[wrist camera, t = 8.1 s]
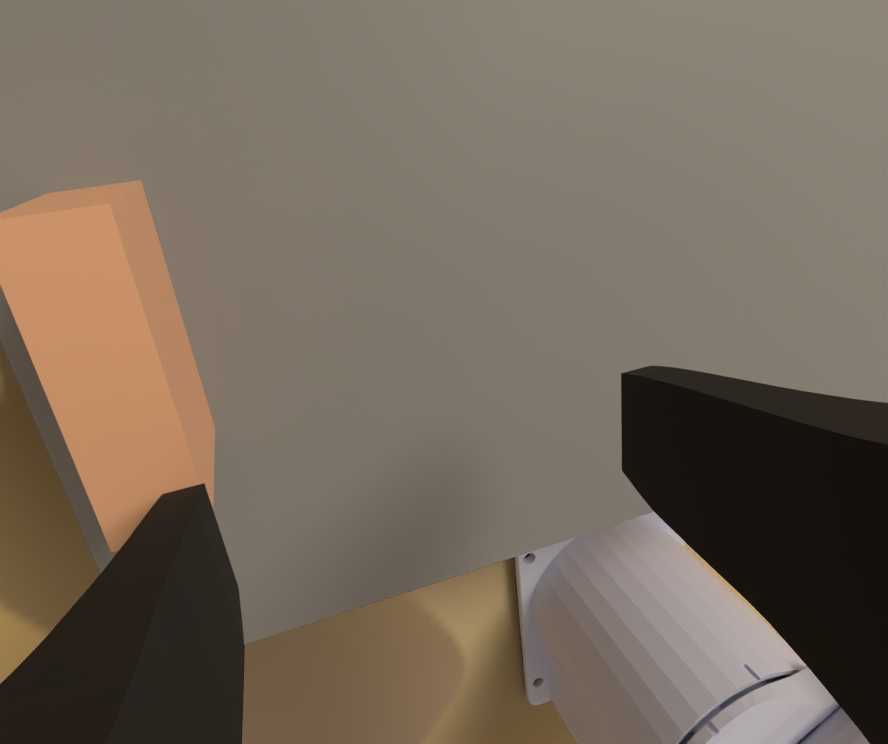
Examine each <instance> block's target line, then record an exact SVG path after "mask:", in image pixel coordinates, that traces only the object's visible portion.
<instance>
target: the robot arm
mask: <svg viewBox="0 0 888 744" xmlns="http://www.w3.org/2000/svg"><path fill="white" fill-rule="evenodd" d="M621 430H622V471H623V473H624V474H625V475H626V477H627V478H628V479H629V481H630V482H631V483H632V485H633V486H634V487H635V489H636V490H637V491H638V493H639V494H640V495H641V496H642V498H643V499H644V500H645V501H646V503H647V504H648V505H649V506H650V507H651V509H652V510H653V511H654V512H652V513H648V514H645V515H642V516H639V517H636V518H633V519H630V520H627V521H624V522H621V523H618V524H615V525H612V526H609V527H605V528H602V529H599V530H596V531H593V532H590V533H587V534H584V535H581V536H578V537H575V538H572V539H569V540H566V541H562V542H559V543H556V544H553V545H550V546H547V547H544V548H541V549H538V550H535V551H532V552H529V553H531V554H530V555H529V556H528V557H526V558H524V557H525V556H526V555H527V554H529V553H526V554H522V555H519V556H516V557H515V569H516V581H517V593H518V605H519V617H520V629H521V641H522V653H523V665H524V677H525V689H526V697H527V699H528V701H529V703H530V704H531V705H535V706H537V705H541V704H543V703H546V702H548V701H551V700H552V702H553V704H554V706H555V707H556V709H557V711H558V713H559V714H560V716H561V718H562V720H563V721H564V723H565V725H566V727H567V728H568V730H569V732H570V734H571V736H572V737H573V739H574V741H575V743H576V744H888V403H885V402H875V401H867V400H859V399H852V398H845V397H839V396H832V395H826V394H819V393H813V392H806V391H801V390H795V389H789V388H784V387H778V386H773V385H768V384H762V383H757V382H752V381H747V380H742V379H736V378H731V377H726V376H721V375H716V374H710V373H705V372H699V371H694V370H688V369H681V368H674V367H666V366H647V367H643V368H639V369H636V370H632V371H628V372H624V373H621ZM685 542H686V543H687V544H688V545H689V546H690V547H691V548H692V549H693V550H694V551H695V552H696V553H697V554H698V555H700V556H701V557H702V558H703V559H704V560H705V561H706V562H707V563H708V564H709V565H710V566H711V567H712V568H713V569H714V570H716V571H717V572H718V573H719V574H720V575H721V576H722V577H723V578H724V579H725V580H726V581H727V582H728V583H729V584H730V585H731V586H733V587H734V588H735V589H736V590H737V591H738V592H739V593H740V594H741V595H742V596H743V597H744V598H745V599H746V600H747V601H748V602H749V603H750V604H751V605H752V606H753V607H754V608H755V609H756V610H757V611H758V612H759V613H760V614H761V615H762V616H763V617H764V618H765V619H766V620H767V621H768V622H769V623H770V624H771V625H772V626H773V628H774V629H775V630H776V631H777V632H778V633H779V634H777V633H776V632H775V631H774V630H773V629H772V628H771V627H770V626H769V625H768V624H767V623H766V622H764V621H763V620H762V619H761V618H760V617H759V616H758V615H757V614H756V613H755V612H754V611H753V610H751V609H750V608H749V607H748V606H747V605H746V604H745V603H744V602H743V601H742V600H741V599H740V598H738V597H737V596H736V595H735V594H734V593H733V592H732V591H731V590H730V589H729V588H728V587H726V586H725V585H724V584H723V583H722V582H721V581H720V580H719V579H718V578H717V577H716V576H715V575H713V574H712V573H711V572H710V571H709V570H708V569H707V568H706V567H705V566H704V565H703V564H702V563H700V562H699V561H698V560H697V559H696V558H695V557H694V556H693V555H692V554H691V553H690V552H689V551H687V550H686V549H685ZM244 648H245V647H244V635H243V624H242V614H241V605H240V596H239V587H238V584H237V581H236V578H235V575H234V572H233V569H232V566H231V563H230V560H229V557H228V554H227V551H226V548H225V545H224V542H223V538H222V535H221V532H220V529H219V526H218V523H217V520H216V517H215V514H214V511H213V508H212V505H211V502H210V499H209V496H208V493H207V490H206V487H205V484H204V483H203V484H199V485H195V486H192V487H188V488H184V489H180V490H176V491H173V492H169V493H165V494H162V495H161V496H160V498H159V499H158V500H157V501H156V502H155V504H154V505H153V506H152V507H151V509H150V510H149V511H148V513H147V514H146V515H145V517H144V518H143V519H142V521H141V522H140V523H139V525H138V526H137V527H136V529H135V530H134V531H133V533H132V534H131V535H130V537H129V538H128V539H127V541H126V542H125V543H124V545H123V546H122V547H121V548H120V550H119V551H118V552H117V553H116V555H115V556H114V557H113V559H112V560H111V561H110V562H109V564H108V565H107V566H106V568H105V569H104V570H103V571H102V573H101V574H100V575H99V577H98V578H97V579H96V580H95V581H94V583H93V584H92V585H91V586H90V587H89V588H88V590H87V591H86V592H85V593H84V594H83V595H82V596H81V598H80V599H79V600H78V601H77V602H76V603H75V605H74V606H73V607H72V608H71V609H70V610H69V611H68V613H67V614H66V615H65V616H64V617H63V618H62V620H61V621H60V622H59V623H58V624H57V625H56V626H55V628H54V629H53V630H52V631H51V632H50V633H49V635H48V636H47V637H46V638H45V639H44V640H43V641H42V642H41V643H40V644H39V646H38V647H37V648H36V649H35V650H34V651H33V652H32V653H31V654H30V655H29V656H28V657H27V658H26V659H25V660H24V661H23V662H22V663H21V664H20V665H19V666H18V667H17V669H15V670H14V671H13V672H12V673H11V674H10V675H9V676H8V677H7V678H6V679H5V680H4V681H3V682H2V683H1V684H0V744H242V720H243V689H244Z"/></svg>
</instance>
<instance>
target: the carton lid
mask: <svg viewBox="0 0 888 744" xmlns="http://www.w3.org/2000/svg"><path fill="white" fill-rule="evenodd" d="M0 342H1V345H2V347H3V349H4V352H5V354H6V356H7V359H8V361H9V363H10V366H11V368H12V370H13V373H14V375H15V377H16V380H17V382H18V384H19V387H20V389H21V391H22V394H23V396H24V398H25V401H26V403H27V405H28V408H29V410H30V412H31V415H32V417H33V419H34V421H35V424H36V426H37V428H38V431H39V433H40V435H41V438H42V440H43V442H44V445H45V447H46V449H47V452H48V454H49V456H50V459H51V461H52V463H53V466H54V468H55V470H56V473H57V475H58V477H59V480H60V482H61V484H62V487H63V489H64V491H65V494H66V496H67V498H68V500H69V503H70V505H71V507H72V510H73V512H74V514H75V517H76V519H77V521H78V524H79V526H80V528H81V531H82V533H83V535H84V538H85V540H86V542H87V545H88V547H89V549H90V552H91V554H92V556H93V559H94V561H95V563H96V566H97V568H98V570H99V573H100V574H101V573H102V571H103V570H104V569H105V568H106V566H107V565H108V564H109V562H110V561H111V560H112V559H113V557H114V556H115V555H116V553H117V552H118V551H119V550H120V548H121V547H122V546H123V545H124V543H125V542H126V541H127V539H128V538H129V537H130V535H131V534H132V533H133V531H134V530H135V529H136V527H137V526H138V525H139V523H140V522H141V521H142V519H143V518H144V517H145V515H146V514H147V513H148V511H149V510H150V509H151V507H152V506H153V505H154V504H155V502H156V501H157V500H158V499H159V498H160V496H161V495H162V494H165V493H169V492H173V491H176V490H180V489H184V488H188V487H192V486H195V485H199V484H203V483H204V484H205V487H206V490H207V493H208V496H209V499H210V502H211V505H212V508H213V511H214V514H215V517H216V520H217V523H218V526H219V529H220V532H221V535H222V538H223V542H224V545H225V548H226V551H227V554H228V557H229V560H230V563H231V566H232V569H233V572H234V575H235V578H236V581H237V584H238V587H239V596H240V605H241V614H242V624H243V635H244V645H246V644H249V643H252V642H255V641H258V640H261V639H264V638H267V637H270V636H274V635H276V634H280V633H282V632H286V631H289V630H292V629H295V628H298V627H301V626H304V625H307V624H310V623H313V622H316V621H320V620H323V619H326V618H329V617H332V616H335V615H338V614H341V613H344V612H347V611H350V610H353V609H356V608H359V607H362V606H366V605H369V604H372V603H375V602H378V601H381V600H384V599H387V598H390V597H393V596H396V595H400V594H403V593H406V592H409V591H412V590H415V589H418V588H421V587H424V586H427V585H430V584H433V583H436V582H440V581H443V580H446V579H449V578H452V577H455V576H458V575H461V574H464V573H467V572H470V571H473V570H476V569H479V568H483V567H486V566H489V565H492V564H495V563H498V562H501V561H504V560H507V559H510V558H513V557H516V556H519V555H522V554H526V553H529V552H532V551H535V550H538V549H541V548H544V547H547V546H550V545H553V544H556V543H559V542H562V541H566V540H569V539H572V538H575V537H578V536H581V535H584V534H587V533H590V532H593V531H596V530H599V529H602V528H605V527H609V526H612V525H615V524H618V523H621V522H624V521H627V520H630V519H633V518H636V517H639V516H642V515H645V514H648V513H652V512H654V511H653V510H652V509H651V507H650V506H649V505H648V504H647V503H646V501H645V500H644V499H643V498H642V496H641V495H640V494H639V493H638V491H637V490H636V489H635V487H634V486H633V485H632V483H631V482H630V481H629V479H628V478H627V477H626V475H625V474H624V473H623V471H622V430H621V373H624V372H628V371H632V370H636V369H639V368H643V367H647V366H666V367H674V368H681V369H688V370H694V371H699V372H705V373H710V374H716V375H721V376H726V377H731V378H736V379H742V380H747V381H752V382H757V383H762V384H768V385H773V386H778V387H784V388H789V389H795V390H801V391H806V392H813V393H819V394H826V395H832V396H839V397H845V398H852V399H859V400H867V401H875V402H885V403H888V0H0Z"/></svg>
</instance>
